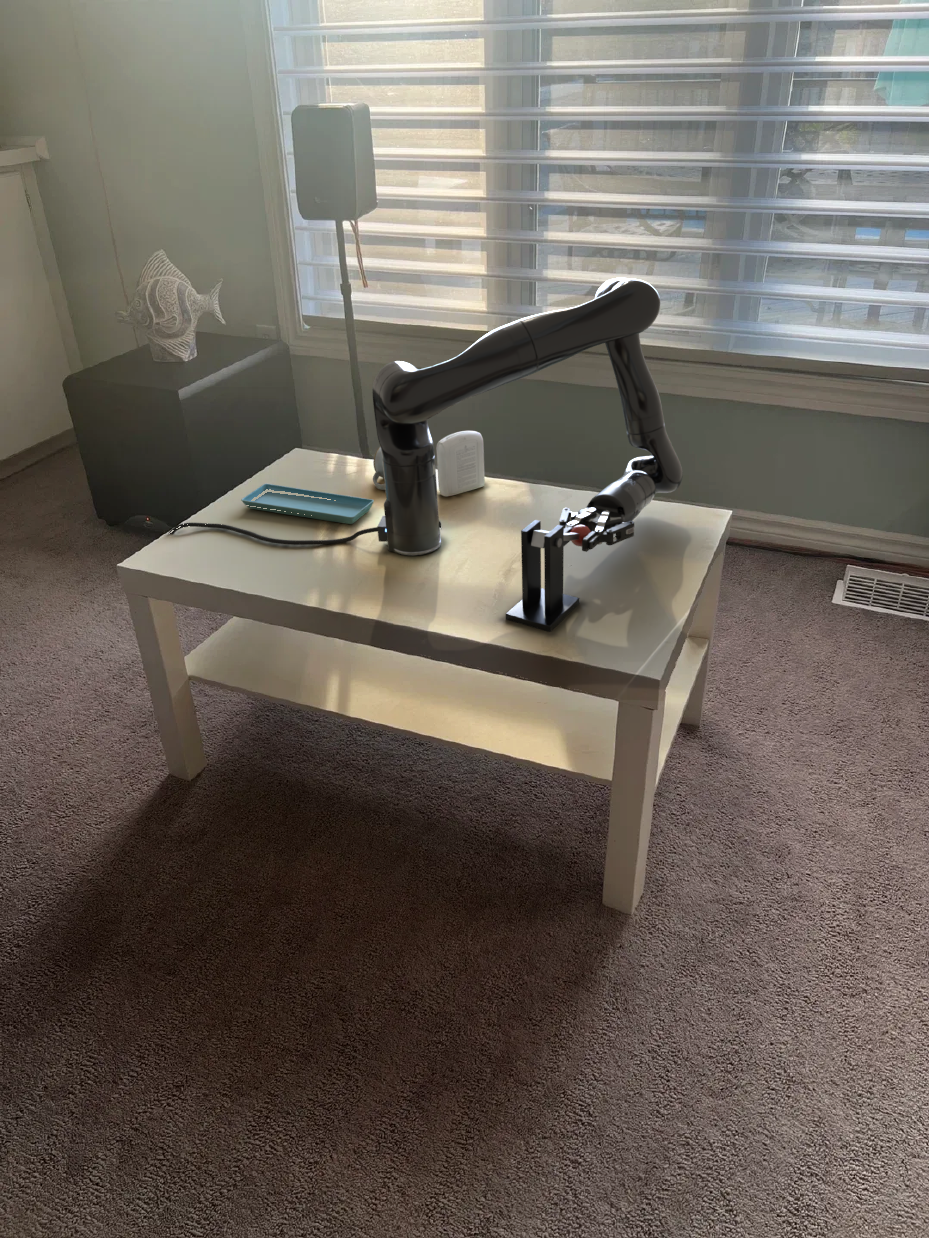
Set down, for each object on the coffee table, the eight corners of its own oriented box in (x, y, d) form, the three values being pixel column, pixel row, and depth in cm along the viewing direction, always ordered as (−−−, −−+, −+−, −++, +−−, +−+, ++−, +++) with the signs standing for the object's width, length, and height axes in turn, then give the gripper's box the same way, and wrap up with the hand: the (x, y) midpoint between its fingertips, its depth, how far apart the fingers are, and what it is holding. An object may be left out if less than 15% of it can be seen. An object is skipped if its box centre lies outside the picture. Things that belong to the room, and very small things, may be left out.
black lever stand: (536, 592, 152) (535, 511, 145) (579, 604, 148) (581, 520, 141) (505, 620, 145) (502, 535, 138) (550, 632, 141) (550, 546, 134)
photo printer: (476, 480, 195) (474, 424, 189) (488, 486, 192) (486, 429, 185) (435, 493, 190) (431, 435, 184) (446, 499, 187) (443, 441, 181)
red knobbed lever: (573, 543, 155) (577, 522, 154) (592, 547, 153) (596, 526, 152) (525, 548, 140) (529, 525, 139) (546, 553, 138) (550, 530, 138)
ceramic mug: (391, 470, 202) (387, 437, 198) (423, 475, 199) (420, 441, 195) (364, 488, 195) (360, 454, 190) (396, 494, 191) (392, 459, 187)
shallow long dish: (376, 508, 185) (374, 497, 184) (354, 527, 178) (352, 515, 176) (267, 493, 194) (265, 482, 193) (241, 511, 187) (239, 499, 186)
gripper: (581, 479, 164) (534, 514, 151) (655, 492, 157) (612, 531, 144) (580, 517, 167) (534, 555, 155) (653, 532, 160) (611, 573, 148)
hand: (572, 543), depth 150 cm, fingers closed on red knobbed lever, 3 cm apart
